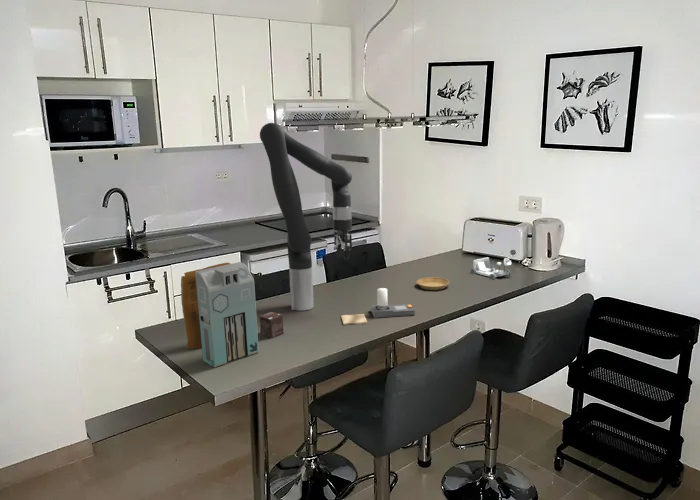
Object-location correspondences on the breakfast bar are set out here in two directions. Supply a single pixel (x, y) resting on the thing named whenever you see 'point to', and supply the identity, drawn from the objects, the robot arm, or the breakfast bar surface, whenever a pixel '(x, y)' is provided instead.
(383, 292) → the plug
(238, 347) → the device
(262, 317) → the box
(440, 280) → the plant saucer
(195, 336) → the pancake mix bag
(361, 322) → the cork coaster
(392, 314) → the grey charging base
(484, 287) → the breakfast bar surface
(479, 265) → the white wheeled toy
